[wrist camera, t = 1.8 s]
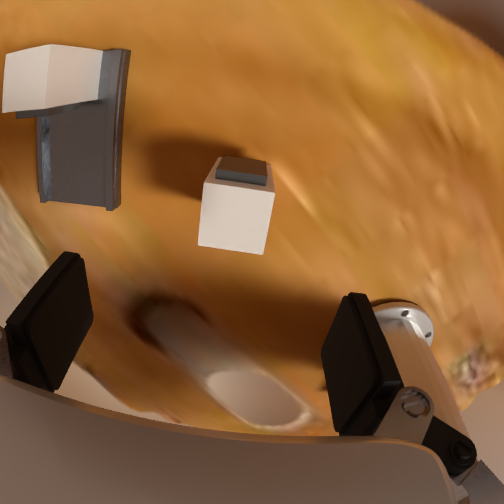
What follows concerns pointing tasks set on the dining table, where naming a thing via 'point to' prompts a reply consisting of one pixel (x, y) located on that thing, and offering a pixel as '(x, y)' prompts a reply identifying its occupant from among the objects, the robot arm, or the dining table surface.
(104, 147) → the grey slab
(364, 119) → the dining table surface
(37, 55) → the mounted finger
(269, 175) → the white rectangular block
